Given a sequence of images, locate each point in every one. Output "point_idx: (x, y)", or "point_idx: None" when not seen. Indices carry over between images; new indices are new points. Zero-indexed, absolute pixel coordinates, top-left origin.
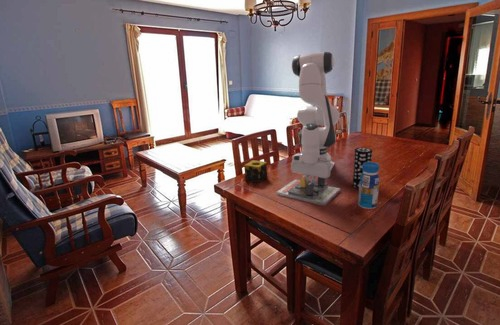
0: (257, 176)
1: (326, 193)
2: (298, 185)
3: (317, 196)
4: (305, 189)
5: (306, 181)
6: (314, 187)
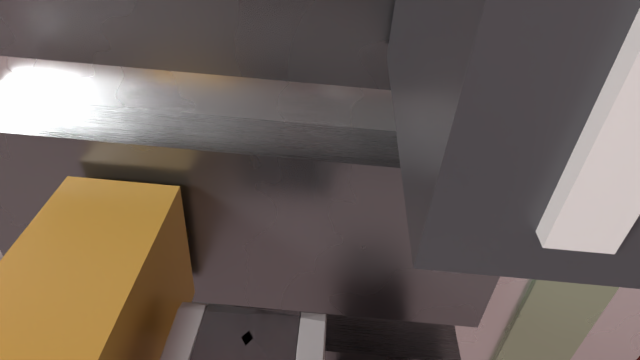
0: None
1: None
2: (21, 223)
3: (469, 332)
4: (234, 297)
5: (149, 326)
6: (358, 206)
